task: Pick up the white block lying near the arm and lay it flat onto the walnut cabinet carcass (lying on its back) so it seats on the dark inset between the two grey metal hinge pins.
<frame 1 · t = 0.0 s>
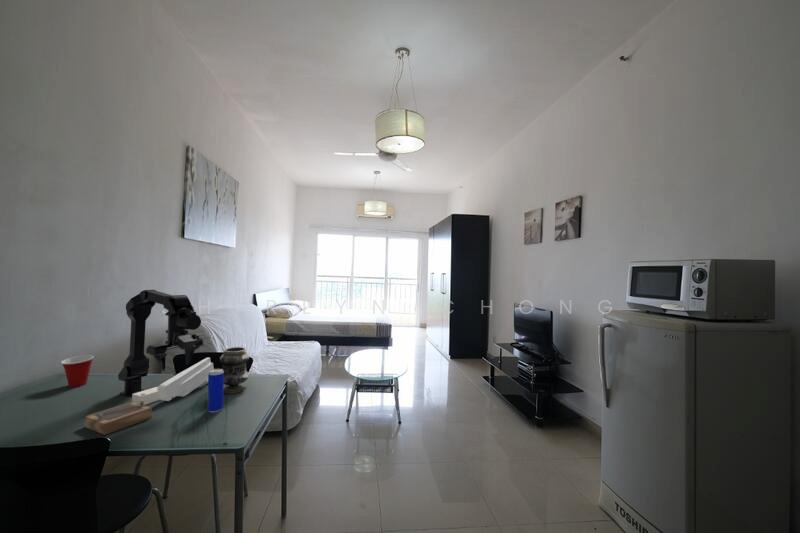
hand: (175, 367, 133), 15 cm above the table, fingers open, 9 cm apart
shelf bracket: (189, 393, 146), on the table
beverage can: (215, 410, 129), on the table
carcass: (119, 422, 118), on the table
plastic cup: (77, 385, 152), on the table
white block: (148, 401, 136), on the table
apothecary jar: (233, 390, 150), on the table
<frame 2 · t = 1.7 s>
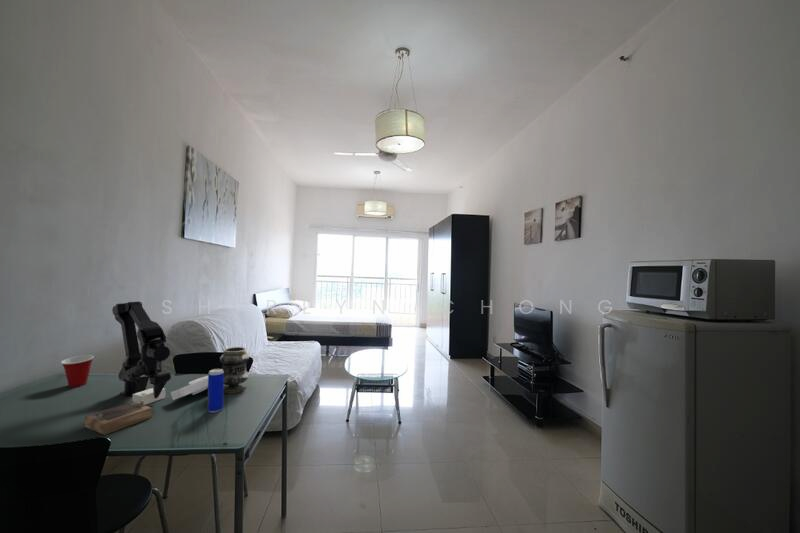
hand: (149, 396, 136), 2 cm above the table, fingers open, 9 cm apart
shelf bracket: (190, 388, 147), point 1 cm above the table
everything else where it was.
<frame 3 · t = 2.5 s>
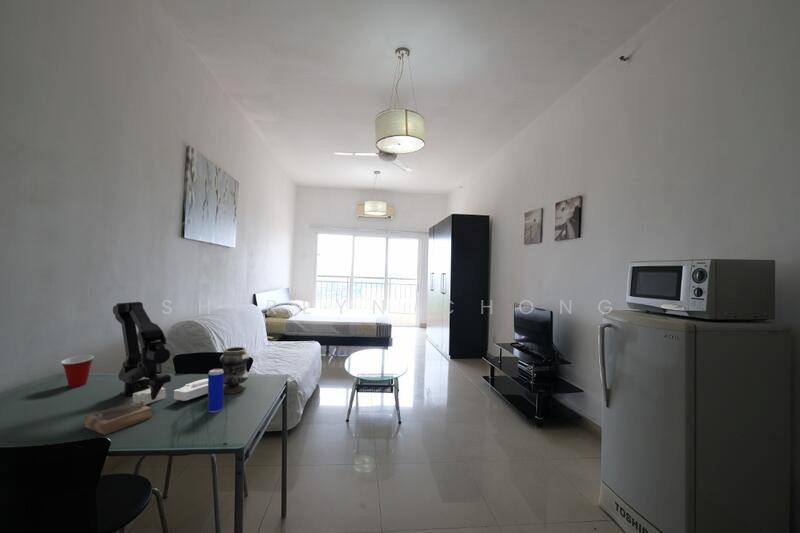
hand: (149, 398, 136), 1 cm above the table, fingers closed on white block, 5 cm apart
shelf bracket: (191, 385, 147), point 3 cm above the table
white block: (149, 400, 137), on the table, touching gripper
everything else where it was.
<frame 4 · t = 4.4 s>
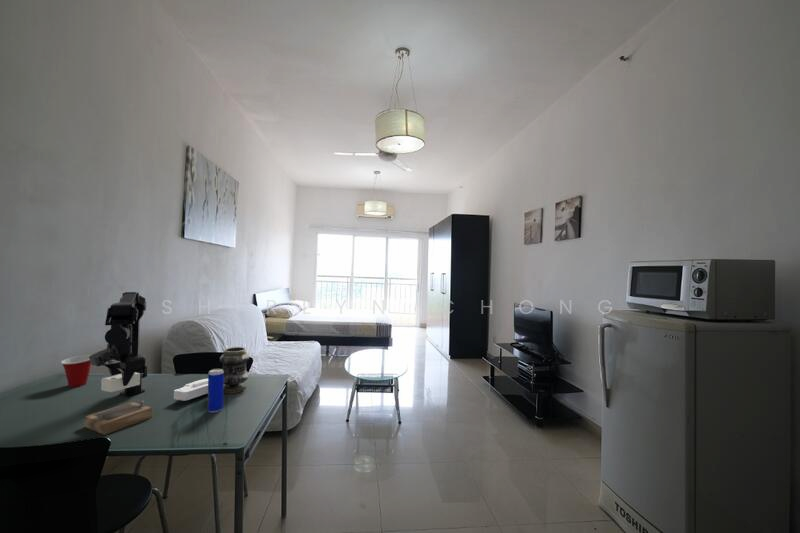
hand: (120, 384, 119), 12 cm above the table, fingers closed on white block, 5 cm apart
white block: (121, 387, 120), point 11 cm above the table, touching gripper
everything else where it was.
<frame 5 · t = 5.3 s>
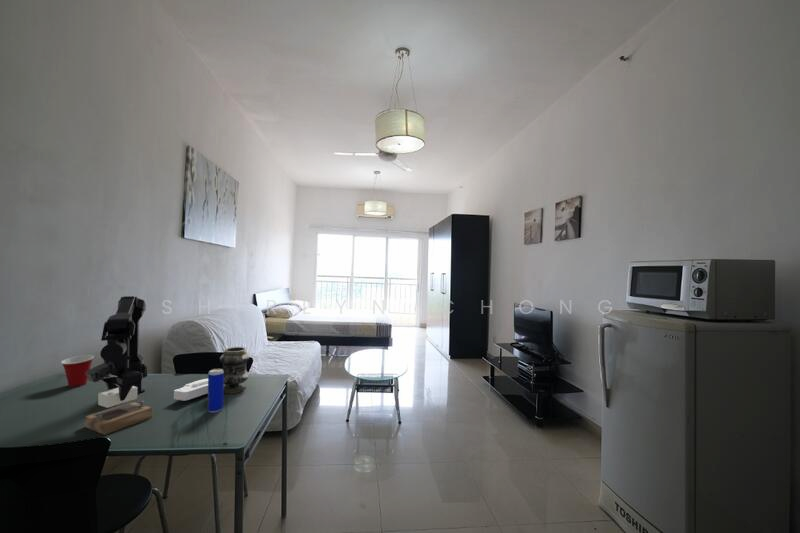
hand: (117, 398, 119), 8 cm above the table, fingers closed on white block, 5 cm apart
white block: (118, 401, 119), point 7 cm above the table, touching gripper
everything else where it was.
when the fingers open (6 cm above the table, at t = 6.1 s): white block stays where it is, resting on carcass.
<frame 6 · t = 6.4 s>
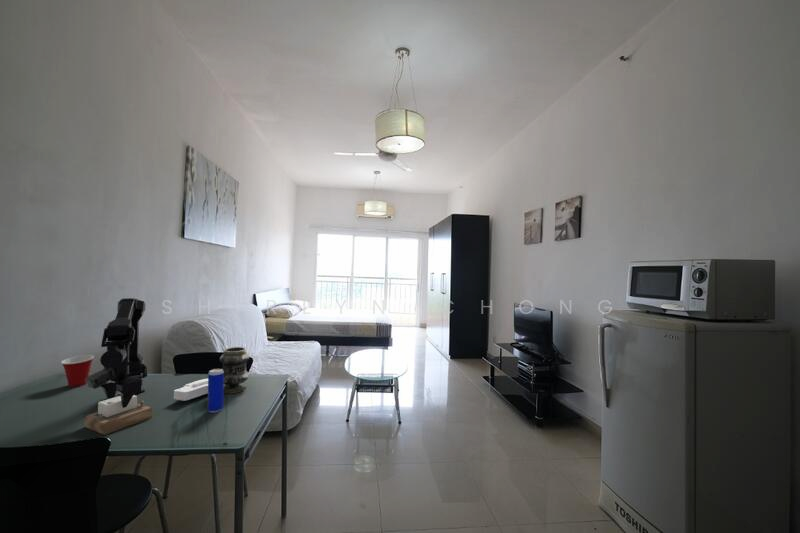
hand: (117, 405, 118), 6 cm above the table, fingers open, 8 cm apart
white block: (117, 410, 119), point 4 cm above the table, touching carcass
everything else where it was.
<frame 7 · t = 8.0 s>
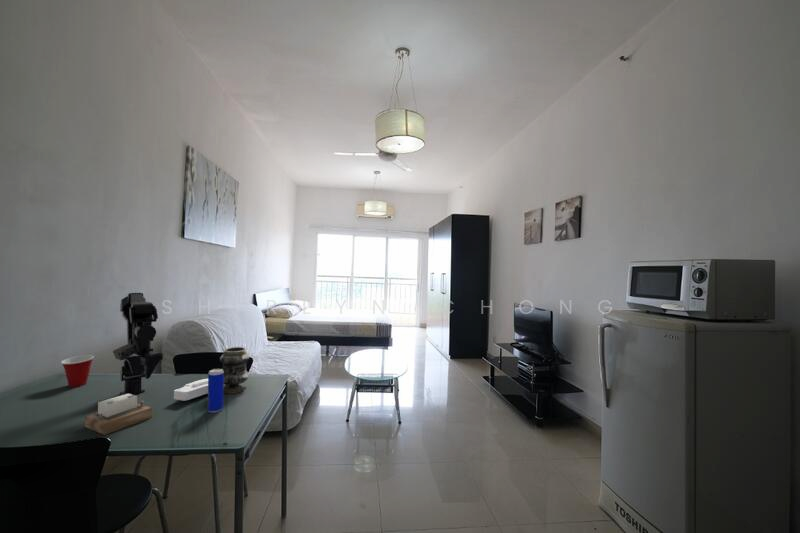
hand: (140, 376, 131), 12 cm above the table, fingers open, 9 cm apart
nothing on the table moved.
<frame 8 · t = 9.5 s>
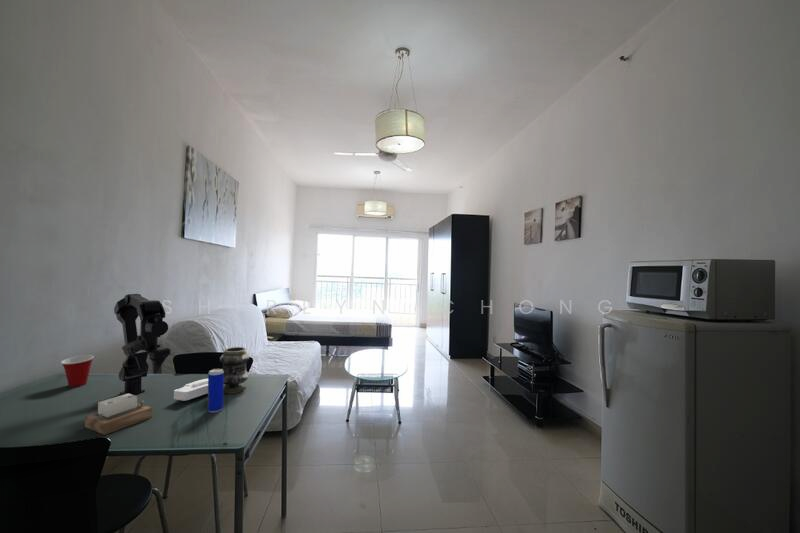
hand: (148, 371, 135), 12 cm above the table, fingers open, 9 cm apart
nothing on the table moved.
at the end: white block 1.0 cm off-centre on the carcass, point 3.6 cm above the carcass's base; white block tilted 0°; the gripper is holding nothing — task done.
